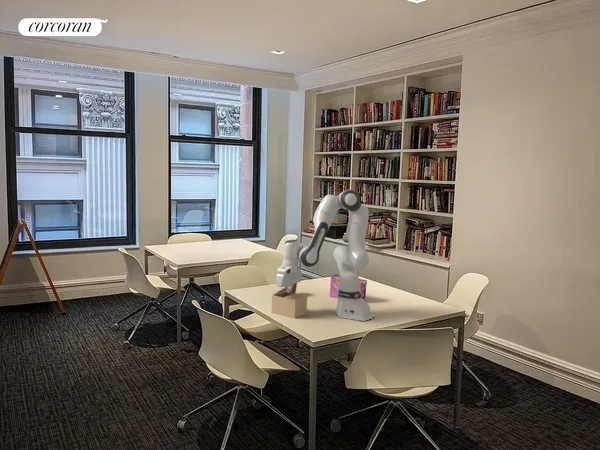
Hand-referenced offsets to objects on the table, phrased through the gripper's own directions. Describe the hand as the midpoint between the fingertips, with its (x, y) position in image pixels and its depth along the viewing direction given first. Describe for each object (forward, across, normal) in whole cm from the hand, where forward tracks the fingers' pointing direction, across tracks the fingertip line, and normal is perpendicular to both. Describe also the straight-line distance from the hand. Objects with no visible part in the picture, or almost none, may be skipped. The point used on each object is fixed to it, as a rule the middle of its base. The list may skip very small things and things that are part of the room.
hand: (288, 292), depth 283 cm
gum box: (+13, -52, +10) cm, 54 cm away
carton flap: (0, 0, -4) cm, 4 cm away
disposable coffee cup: (+12, -32, -21) cm, 40 cm away
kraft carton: (+12, 0, +1) cm, 12 cm away
